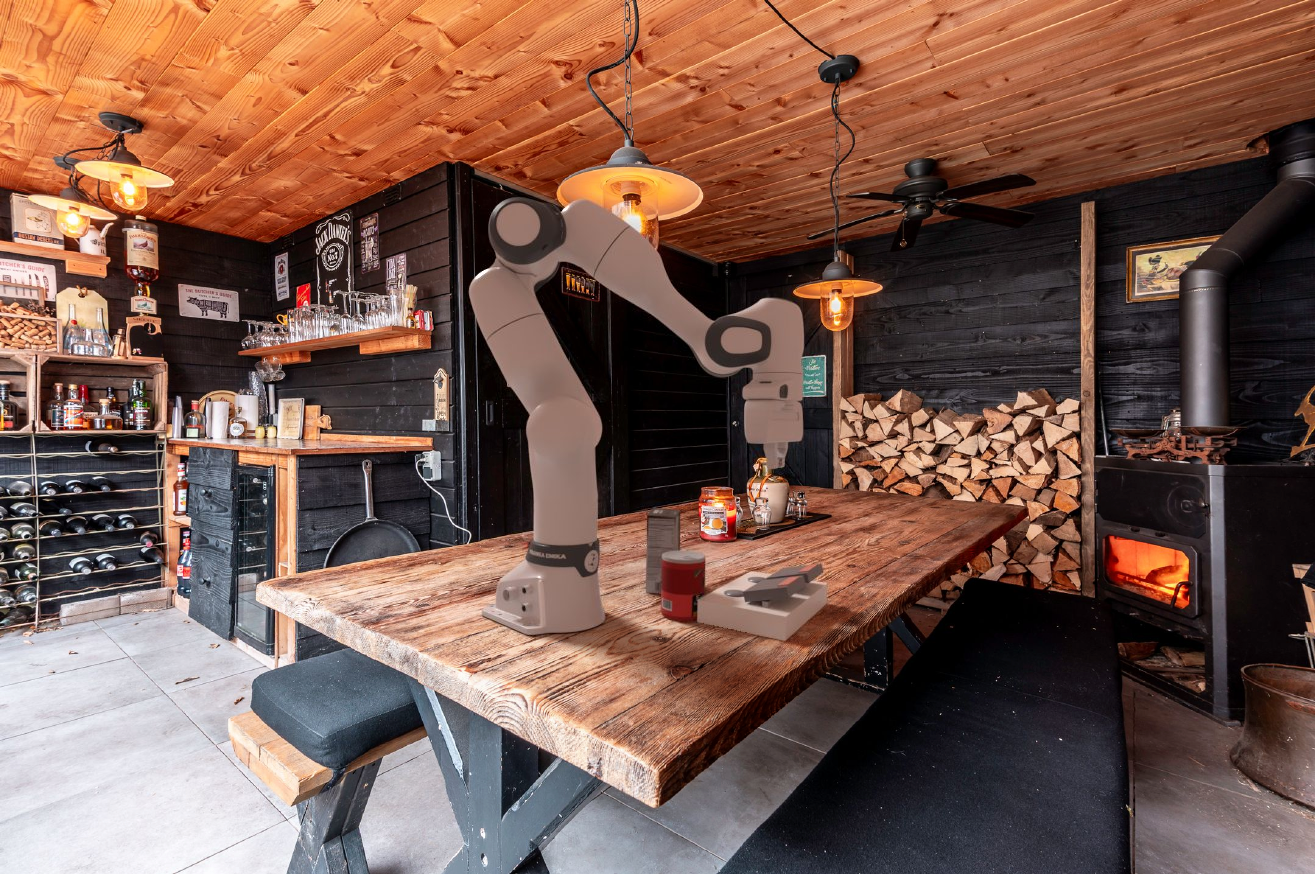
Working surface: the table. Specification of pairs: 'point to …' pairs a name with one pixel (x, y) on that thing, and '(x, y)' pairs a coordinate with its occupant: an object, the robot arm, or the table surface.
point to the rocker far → (799, 572)
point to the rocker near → (774, 589)
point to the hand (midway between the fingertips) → (775, 467)
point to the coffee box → (660, 543)
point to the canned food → (682, 584)
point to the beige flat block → (761, 608)
